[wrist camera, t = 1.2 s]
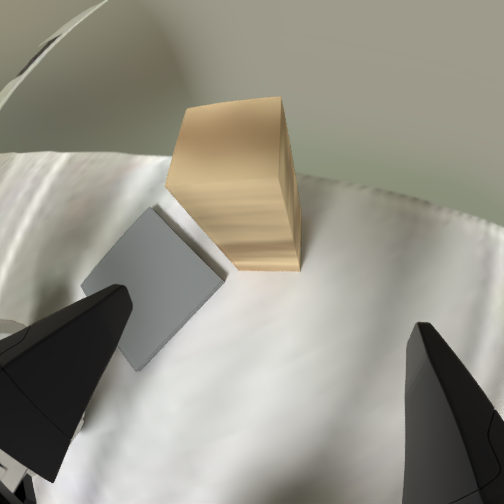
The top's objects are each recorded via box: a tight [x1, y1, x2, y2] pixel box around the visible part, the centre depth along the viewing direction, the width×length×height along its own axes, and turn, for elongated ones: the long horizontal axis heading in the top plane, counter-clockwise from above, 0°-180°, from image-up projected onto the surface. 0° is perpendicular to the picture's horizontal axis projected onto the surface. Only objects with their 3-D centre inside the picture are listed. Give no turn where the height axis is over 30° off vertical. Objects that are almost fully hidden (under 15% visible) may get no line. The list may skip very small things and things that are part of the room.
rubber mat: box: [81, 207, 224, 371], centre depth 25 cm, size 11×11×1 cm
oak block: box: [165, 96, 301, 271], centre depth 19 cm, size 5×5×13 cm
